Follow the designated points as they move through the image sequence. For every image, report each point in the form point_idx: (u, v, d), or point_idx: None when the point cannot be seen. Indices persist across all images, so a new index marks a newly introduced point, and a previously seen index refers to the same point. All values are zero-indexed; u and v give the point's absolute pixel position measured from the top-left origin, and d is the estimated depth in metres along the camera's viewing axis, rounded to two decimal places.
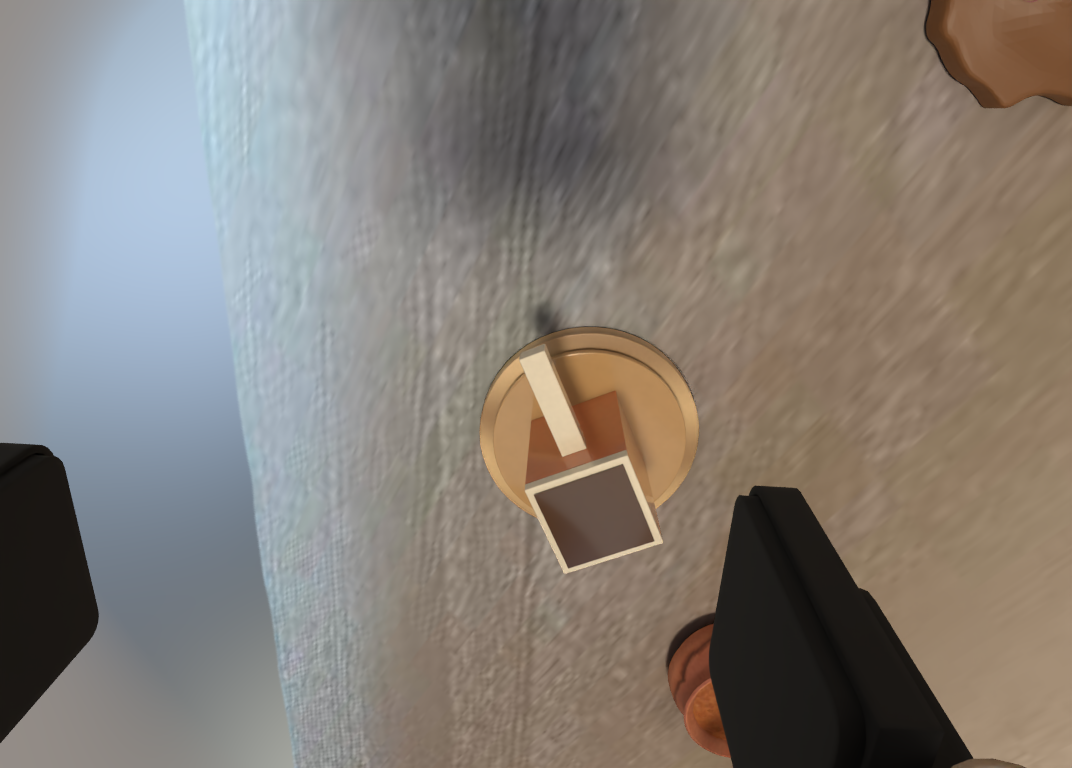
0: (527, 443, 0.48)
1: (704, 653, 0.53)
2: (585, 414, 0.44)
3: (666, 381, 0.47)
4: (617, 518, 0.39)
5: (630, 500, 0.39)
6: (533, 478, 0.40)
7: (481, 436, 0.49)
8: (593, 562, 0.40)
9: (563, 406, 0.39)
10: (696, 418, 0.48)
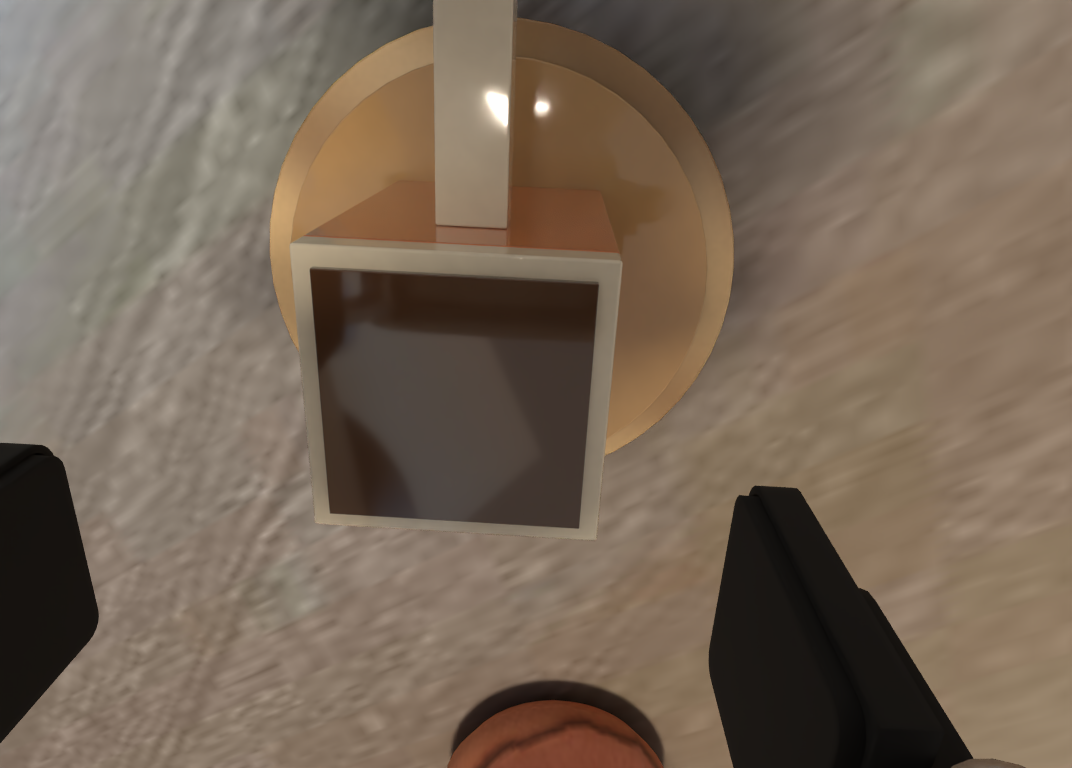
0: None
1: (531, 752, 0.28)
2: (522, 196, 0.19)
3: None
4: (513, 431, 0.14)
5: (570, 396, 0.13)
6: (333, 233, 0.14)
7: (281, 178, 0.22)
8: (401, 522, 0.15)
9: (497, 74, 0.14)
10: (718, 328, 0.23)
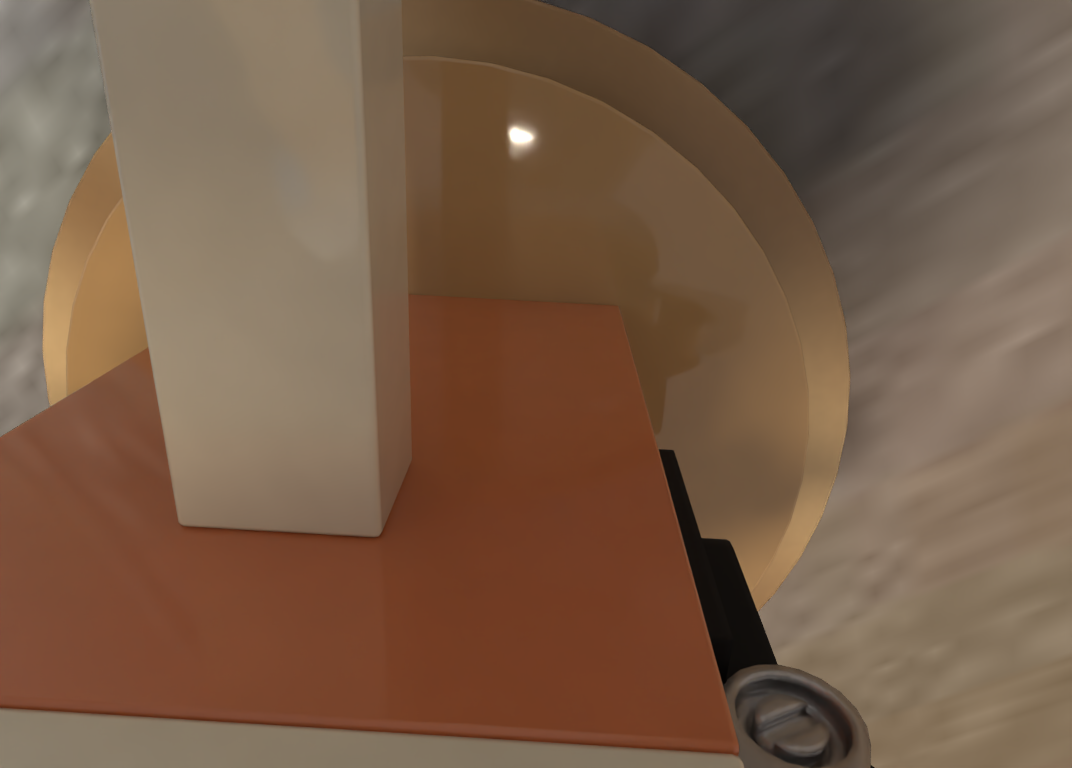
0: None
1: None
2: (467, 339, 0.09)
3: None
4: None
5: None
6: None
7: (53, 274, 0.12)
8: None
9: (316, 103, 0.04)
10: (815, 519, 0.14)
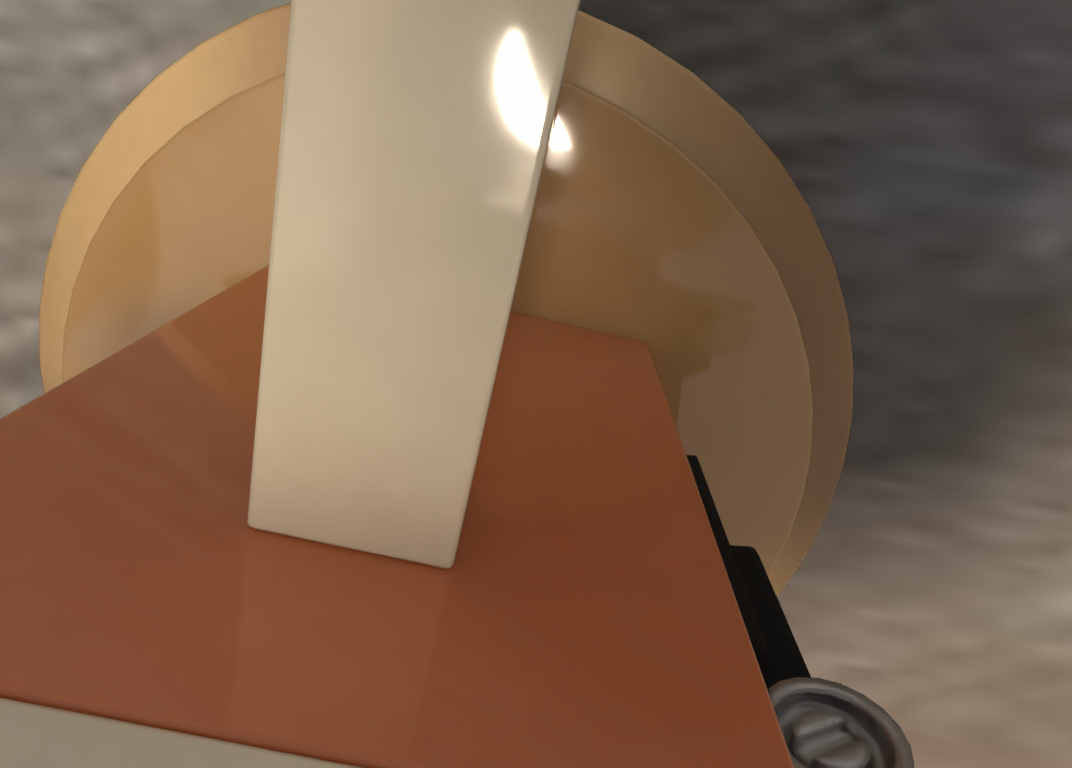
0: None
1: None
2: (506, 356, 0.09)
3: None
4: None
5: None
6: None
7: (237, 32, 0.11)
8: None
9: (500, 143, 0.04)
10: None
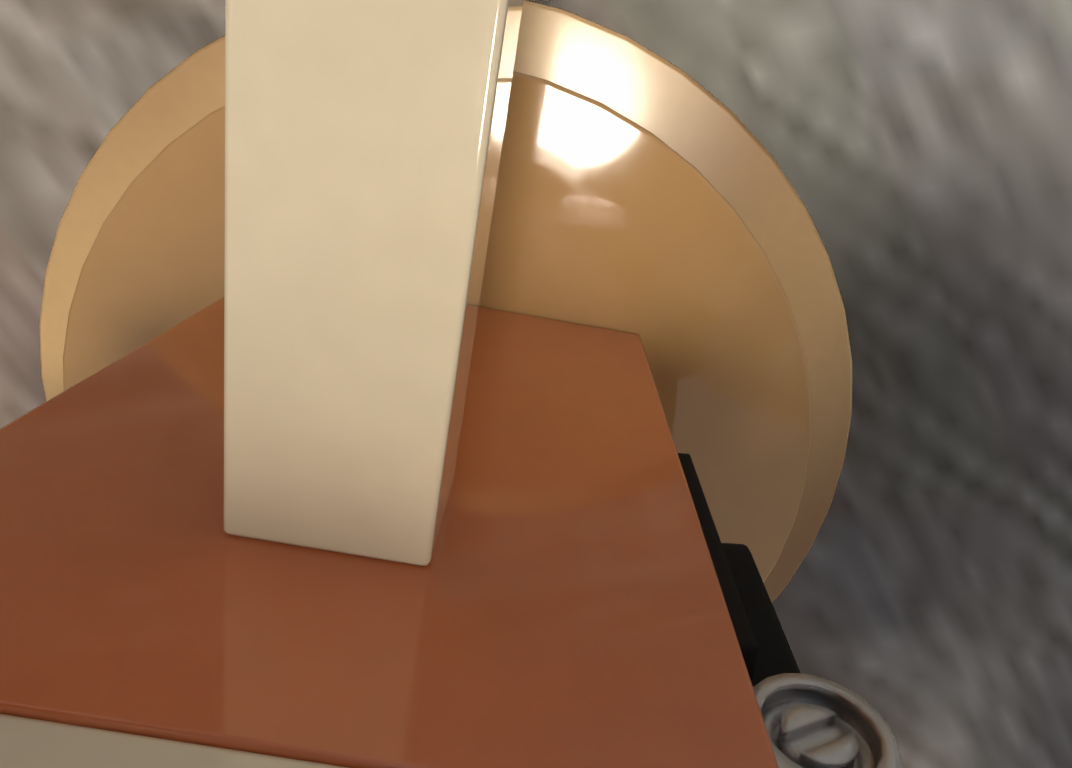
0: None
1: None
2: (493, 355, 0.09)
3: None
4: None
5: None
6: None
7: (656, 63, 0.11)
8: None
9: (442, 136, 0.04)
10: None
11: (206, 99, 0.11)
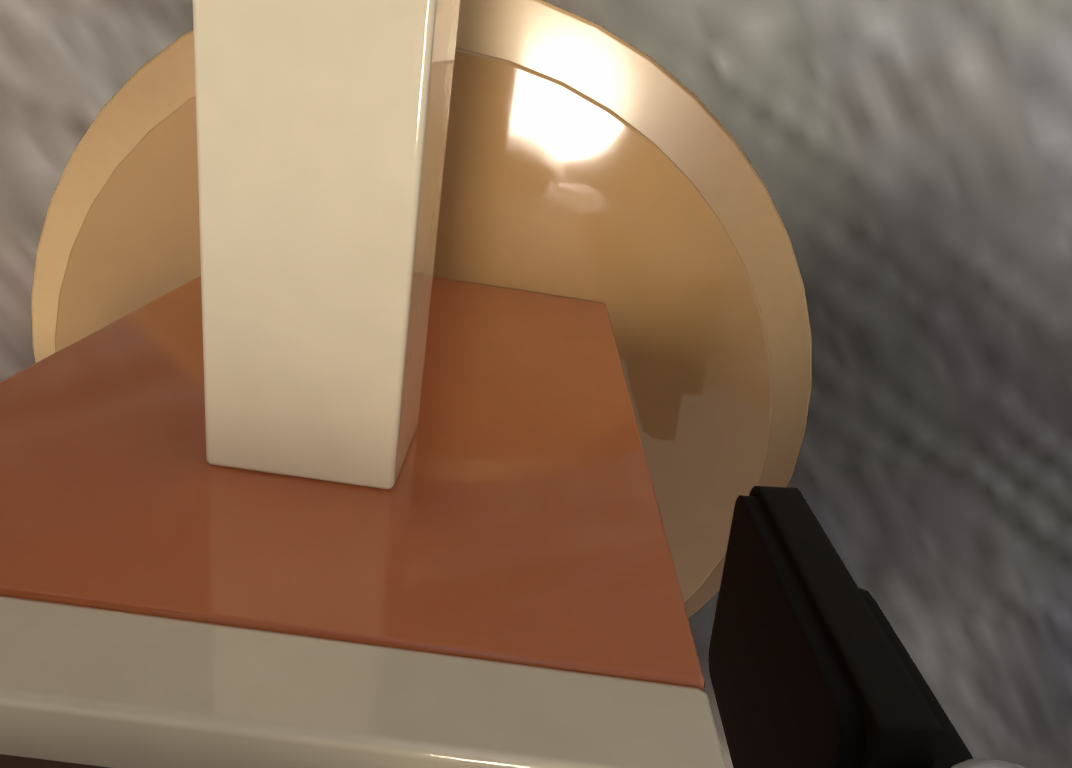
0: None
1: None
2: (463, 321, 0.10)
3: None
4: None
5: None
6: None
7: (625, 50, 0.11)
8: None
9: (386, 94, 0.05)
10: None
11: (194, 80, 0.12)
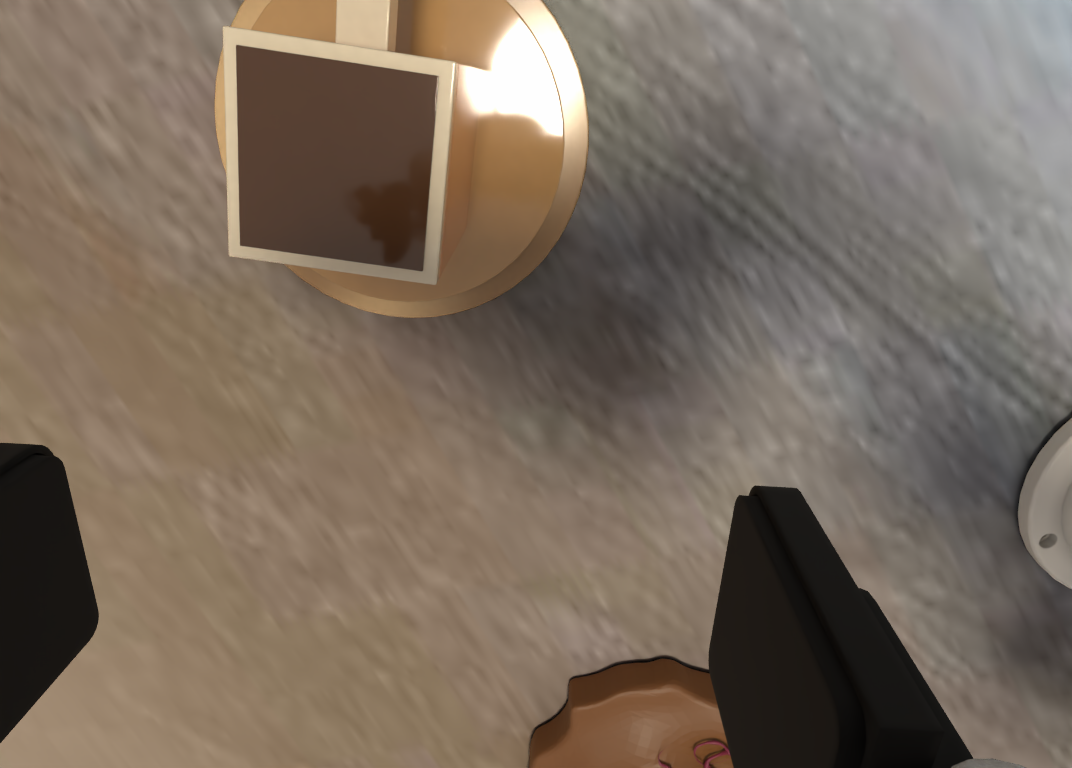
0: None
1: None
2: None
3: None
4: (376, 187, 0.19)
5: (417, 162, 0.19)
6: None
7: None
8: (293, 259, 0.20)
9: None
10: (364, 308, 0.31)
11: None
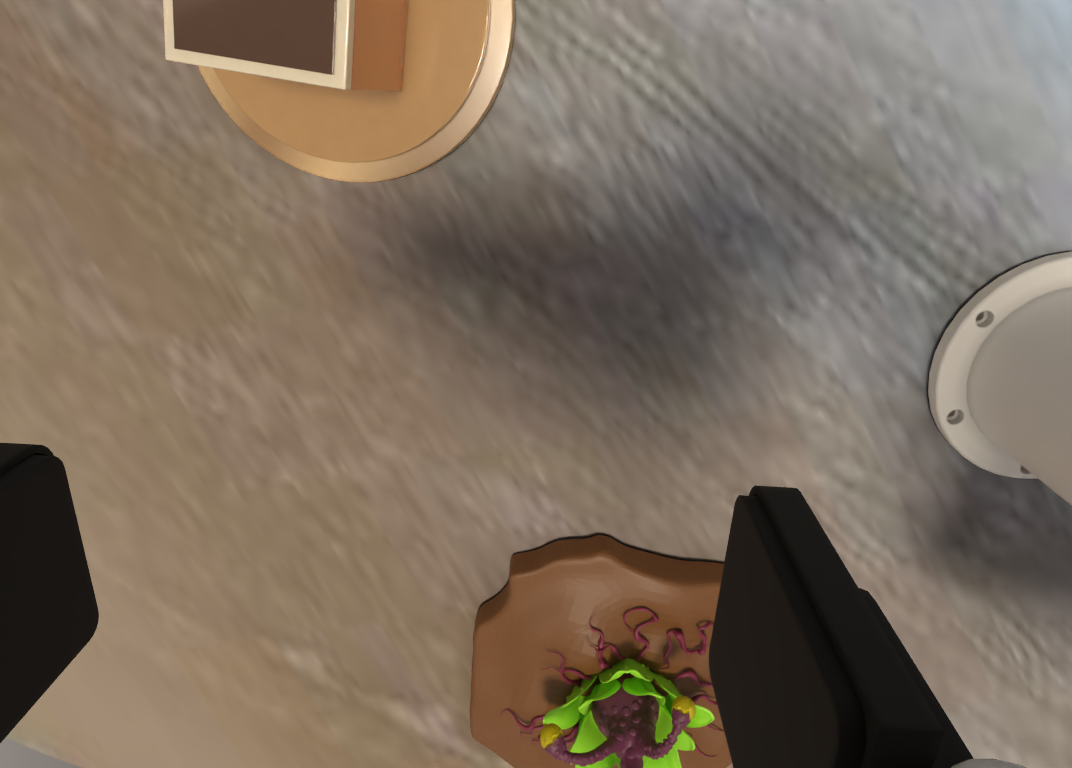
0: None
1: None
2: None
3: (382, 160, 0.34)
4: None
5: None
6: None
7: None
8: (221, 63, 0.23)
9: None
10: (313, 172, 0.34)
11: None
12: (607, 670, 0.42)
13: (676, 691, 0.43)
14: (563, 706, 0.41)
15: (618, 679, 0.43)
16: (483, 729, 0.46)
